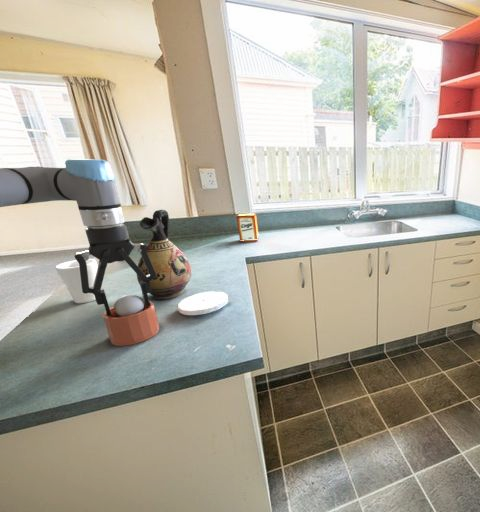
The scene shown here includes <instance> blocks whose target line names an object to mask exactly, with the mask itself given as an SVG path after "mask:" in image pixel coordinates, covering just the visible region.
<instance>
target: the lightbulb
mask: <svg viewBox="0 0 480 512" xmlns="http://www.w3.org/2000/svg"><path fill="white" fill-rule="evenodd" d="M143 300H144V299H142V297H140V296H139V295H136V294H125V295H122V296H121V297H119V298H117V299H116V301H115V302H114V305H113V307H114V310H115V312H116V313H117V314H118V315H119V316H120V317H126V316H130V315H134V314H137V313H139V312H142V311H143V308H144V302H143Z"/></svg>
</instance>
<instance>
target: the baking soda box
mask: <svg viewBox="0 0 480 512" xmlns="http://www.w3.org/2000/svg"><path fill="white" fill-rule="evenodd" d="M236 221H237V229H238V236H239V243H254V242H257V243H258V242H259V240H260V235H259V226H258V218H257V213H238V214H237V215H236ZM258 236H259V238H258ZM257 238H258V240H246V239H257ZM240 240H244V241H240Z"/></svg>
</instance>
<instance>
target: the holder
mask: <svg viewBox="0 0 480 512" xmlns="http://www.w3.org/2000/svg"><path fill="white" fill-rule="evenodd" d="M142 300H143V302H144V299H142ZM149 303H150V306H146V304H145V302H144V308H143V311H142V312H139V313H137V314H134V315H130V316H126V317H120V316H119V315H118V314H117V313H116V312H115V310H114V306H112V307H109V308H110V312H111V315H112V316H107V313H106V310H105V311H104V312H103V313H102V319H103V322H104V325H105V328H106V332H107V334H108V337H109V341H110V343H111V345H114V346H118V347H125V346H131V345H135V344H138V343H139V344H140V343H143V342H145V341H147V340H149V339H151V338H153V337H154V336H156V335H157V334H158V332H159V331H160V324H159V320H158V315H157V313H156V309H155V308H156V307H155V304H154V303H153V301H151V300H149Z"/></svg>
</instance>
